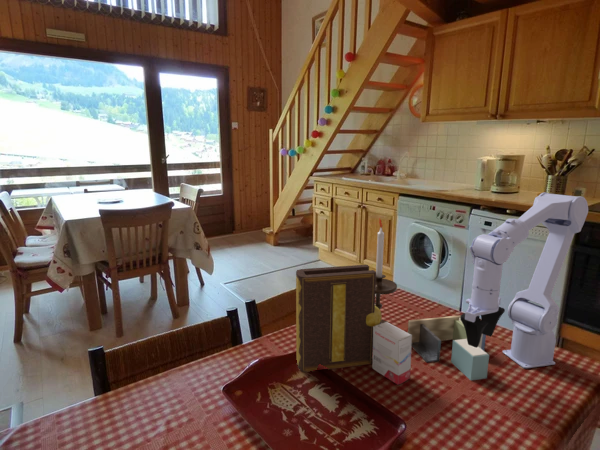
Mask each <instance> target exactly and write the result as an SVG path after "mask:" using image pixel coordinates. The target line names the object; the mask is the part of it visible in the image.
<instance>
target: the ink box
mask: <svg viewBox="0 0 600 450" xmlns="http://www.w3.org/2000/svg"><path fill="white" fill-rule="evenodd" d="M411 343H412V335H411V334H409V333H408V331H405V330H403V329H401V328H399V327H398V326H396V325H394V324H392V323H390V322H389V323H388V321H387V322H384V323H381V324H379V325H376V326H373V355H372V369H373V370H374V371H376V372H377V373H379V374H380V375H381V376H383V377H385V378H387V379H388V380H389V381H391V382H393V383H394V384H395V385H397V386H399V385H401V384H403V383H404V382H406V381H408V380H410V379H411V371H412V370H411V369H412V368H411V366H412V346H411Z"/></svg>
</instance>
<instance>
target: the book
mask: <svg viewBox="0 0 600 450" xmlns="http://www.w3.org/2000/svg"><path fill="white" fill-rule="evenodd" d="M375 287H376V270H375V269H371V270H370V265H368V264H356V265H354V264H353V265H341V266H328V267H327V266H325V267H313V268H311V267H310V268H302V269H301V268H299V269H297V270H296V271H295V292H296V293H295V295H296V297H295V301H296V303H295V305H296V306H295V307H296V308H295V309H296V311H295V312H296V313H295V318H296V319H295V321H296V323H295V324H296V325H295V331H296V333H295V334H296V335H295V337H296V339H295V340H296V341H295V343H296V345H295V346H296V347H295V348H296V349H295V350H296V359H295V360H297V363H296V366H297V365H298V366H297V369H298V368H299V369H300V370H301V371H300V370H299V369H298V370H299V371H300V372H302V373H311V372H310V371H312V372H314V371H313V370H317V368H318V365H319V364H321V365H323V366H325V367H327V368H329V369H328V370H333V369H335V370H336V369H340V368H341V369H343V368H349V367H350V368H351V367H358V366H366V365H367V366H368V365H373V326H376V325H378V324H380V322H381V320H382V317H383V316H382V311H381V309H379V308H378V307H376V306H375V303H376V294H375Z"/></svg>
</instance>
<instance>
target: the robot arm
mask: <svg viewBox="0 0 600 450" xmlns="http://www.w3.org/2000/svg"><path fill="white" fill-rule="evenodd" d="M588 213H589V205H588V201H587V199H586V198H585V197H584V196H580V195H579V196H574V195H567V194H566V195H565V194H556V193H550V192H549V193H548V192H546V191H545V192H541V193H540V194H539V195H538V196H535V198H534V200H533V204H532V206H531V207H530V208H529V209H528V210H527V211H525V212H524V213H523V214H521V216H519V217H518V218H507V219H506V220H505V221H504V222H503V223H501V224H500V225H499V226H498V227H496V228H494V229H493V230H491V231H490V232H489V233H487V234H485V233H482V234H480V235H477V236H475V238H473V240H472V243H471V245H470V246H469V251H470V255H471V256H472V261H471V262H472V265H473V266H474V268H473V277H472V285H471V295H470V296H471V297H470V298H469V297H468V298H467V299H465V303H466V304H469V305H468V308H467V310H466V311H465V312H464V313H462V314H461V317H460V319H461V321H462V323H463V325H464V328H465V331H466V336H467V342H468V345H471V346H473V347H476V348H477V347H478V345H479V343H480V339H481V336H482V334H484V335H486V336H487V337H490V338H491V337H493V334H494V332H495V330H496V326H497V324H498V323H499V321H500V318H501V317H502V315H503V314H504V313H505V310H506V309H505V308H504V307H500V305H501V301H502V300H501V299H502V297H501V296H500V292H501V283H502V282H501V281H502V274H503V267H504V266H503V265H504V263H507V262H508V260H509V258H510V256H511V254H512V253H513V252H514V250H515V248H516V247H517V246H518V245H520V244H521V243H522V242H524V241H526V240H527V239H528V237H529V235H530V230H532V229H534V228H536V227H537V226H539V225H541V224H542V225H543V226H544V227H545V228H547V230H548V234H547V238H546V241H545V243H544V246H543V249H542V251H541V253H540V256H539V259H538V262H537V264H536V267H535V269H534V272H533V275H532V278H531V280H530V283H529V286H528V288H526V289H524V290H520V291H517V292H516V293H515V295H514V298H512V300H511V301H510V303H509V305H508V307H507V316H508V318H509V319H510V320H511V322H510V323H511V325H513V329H512V337H511V345H510V349H506V350H505V349H503V350H502V353H503V354H505V356H507V357H508V358H510V359H511V360H512V361H514V362H515V363H516V364H517V365H519V366H520V367H521V368H522V369H531V368H537V367H545V366H551V365H552V366H553V365H556V362H555V361H554V355H555V348H556V336H555V333H554V329H555V328H556V326H557V323H558V314H559V311H560V307H559V305H558V304H557V303H556V301H555V299H554V298H553V297H552V293H553V291H554V288H555V286H556V284H557V280H558V278H559V276H560V272H561V271H562V268H563V265H564V262H565V261H566V257H567V254H568V252H569V249H570V247H571V244H572V241H573V239H574V236H575V234H577V233H580V232H581V231H582V228H583V226H584V224H585V221H586V219H587V216H588ZM535 303H537V304H535Z"/></svg>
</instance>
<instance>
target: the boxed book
mask: <svg viewBox="0 0 600 450" xmlns="http://www.w3.org/2000/svg"><path fill="white" fill-rule="evenodd" d="M451 347H452V349H451V358H450V359H451V360H450V363H451V364H452V365H454V366H455V367H456V369H458V370H459V371H460V372H461V373H462V374H463V376H465V377H466V378H467V379H468V380H469V381H476V380H477V381H478V380H484V379H488V369H489V361H490V360H489V359H490V354H489V353H488V352H486V351H485V350H484V351H483V350H482V349H481V348H480V347H477V348H476V347H473V346H471V345H468V342H467V339H460V340H453V339H452V346H451Z"/></svg>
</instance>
